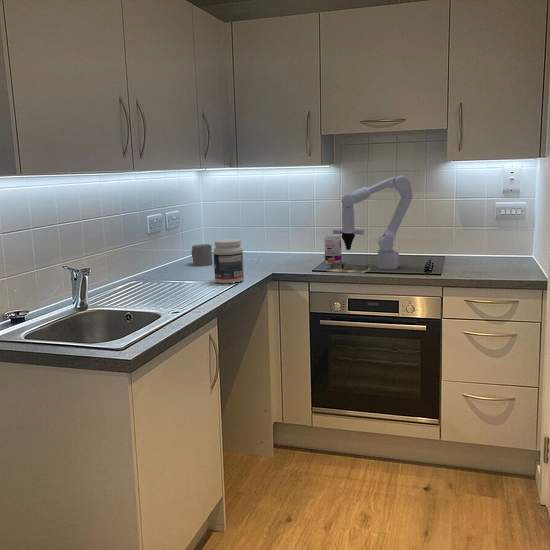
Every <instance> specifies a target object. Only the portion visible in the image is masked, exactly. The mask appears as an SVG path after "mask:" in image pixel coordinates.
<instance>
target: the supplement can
mask: <svg viewBox="0 0 550 550" xmlns="http://www.w3.org/2000/svg"><path fill="white" fill-rule="evenodd" d="M328 258H335V262H334V263H338V262H342V258H343V257H342V236H341V234H326V235H325V237H324V264H325V265H327V266H328V265H330V266H331V264H332V263H328ZM342 263H343V262H342Z"/></svg>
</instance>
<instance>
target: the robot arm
mask: <svg viewBox="0 0 550 550" xmlns="http://www.w3.org/2000/svg"><path fill="white" fill-rule="evenodd" d="M387 188H388V189H396V190H397V191H398V194H399V196H400V200H399V202H398V203H397V205H396V208H395V210H394V213H393V215H392V216H391V219H390V221H389V223H388V225H387V228H386V229H385V231H384V232H383V234H382V236H380V237H379V239H378V241H377V242H378V243H377V245H378V246H379V248H378V249H377V269H380V270H381V269H382V270H397V269H398V268H400V253H399V251H394V249H393V248H394V240H395V238H396V235H397V233H398V230H399V228H400V226H401V224H402V222H403V219H404V217H405V215H406V212H407V211H408V208H409V206H410V204H411V202H412V200H413V190H412V184H411V182H410V180H409V178H408V176H406V175H403V174H399V175H397V176H392V177H389V178H386V179H385V180H382V181H380V182H378V183H376V184H374V185H372V186H370V187H366V186H363V187H362V186H359V187H358V189H355V190H353V191H349V193H345V194H344V195H343V196H342V197H341V200H340V202H341V204H342V206H341V228H340V229H339V228H338V229H332V235H340V237H341V239H342V240H343V243H344V244H345V245H344V246H345V249H346V251H351V250H352V244H353V242H354V239H355V237H356V235H361V236H362V235H365V234H364V233H365V230H364V229H355V210H354V209H355V208H354V206H355V205H354V204H360V203H361V202H364V201H366V200H368V199H369V198H370V197H371V195H372V194H375V193H377V192H380V191H382V190H384V189H387Z"/></svg>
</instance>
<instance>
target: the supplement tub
mask: <svg viewBox="0 0 550 550" xmlns="http://www.w3.org/2000/svg"><path fill="white" fill-rule="evenodd" d="M213 244H214V248H213V251H212V254H213V267H214V281H215V282H216V283H217V282H219V283H218V284H220V283H233V282H239V283H241V282H243V281H244V279H245V275H244V252H243V251H244V250H243V247H242V246H241V244H242V242H241V239H238V238H223V239H217V240H214V243H213ZM240 281H241V282H240Z"/></svg>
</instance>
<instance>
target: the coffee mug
mask: <svg viewBox="0 0 550 550" xmlns="http://www.w3.org/2000/svg"><path fill="white" fill-rule="evenodd" d="M212 247H213V246H212V244H208V243H206V244H205V243H204V244H194V245H192V246H191V257H192V266H194V267H209V266H212V265H213V251H212V250H213V249H212Z"/></svg>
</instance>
